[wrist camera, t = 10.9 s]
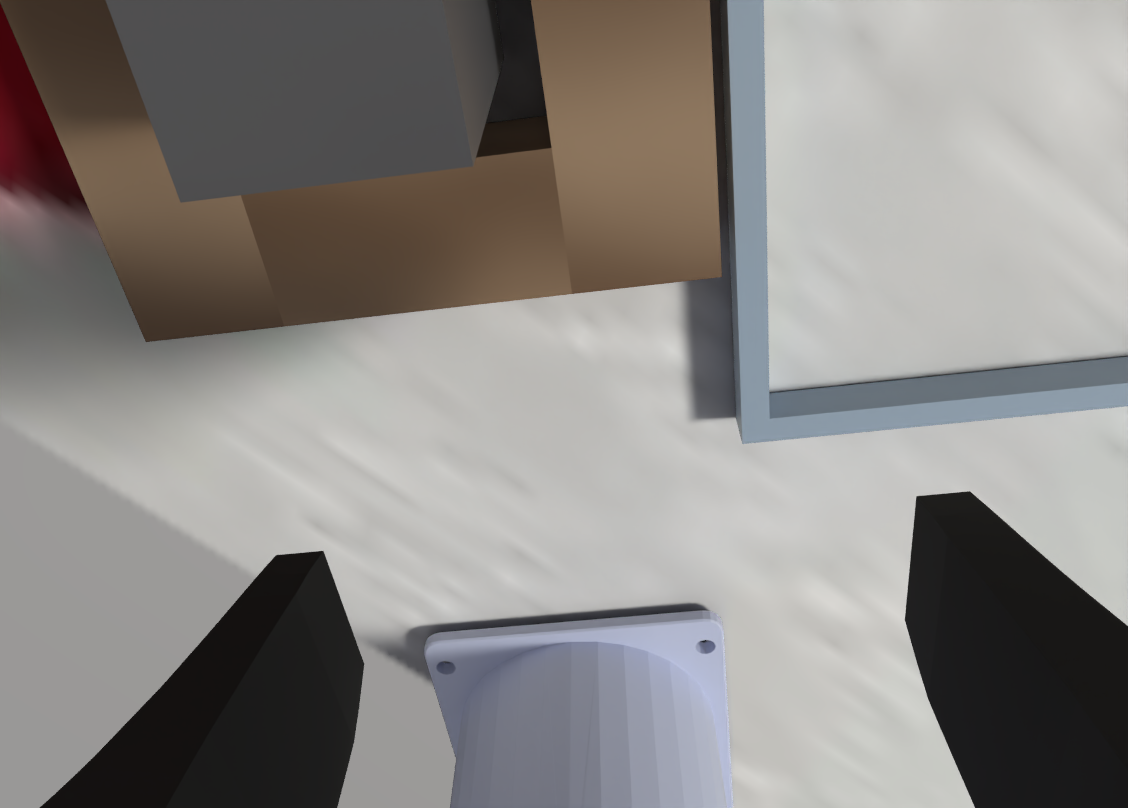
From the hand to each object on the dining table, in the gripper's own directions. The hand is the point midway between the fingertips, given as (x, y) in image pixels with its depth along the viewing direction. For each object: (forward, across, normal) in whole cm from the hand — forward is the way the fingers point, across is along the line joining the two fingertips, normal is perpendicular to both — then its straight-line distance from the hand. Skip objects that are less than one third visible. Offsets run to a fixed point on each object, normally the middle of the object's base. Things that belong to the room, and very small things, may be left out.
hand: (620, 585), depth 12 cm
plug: (+10, +3, -6) cm, 12 cm away
